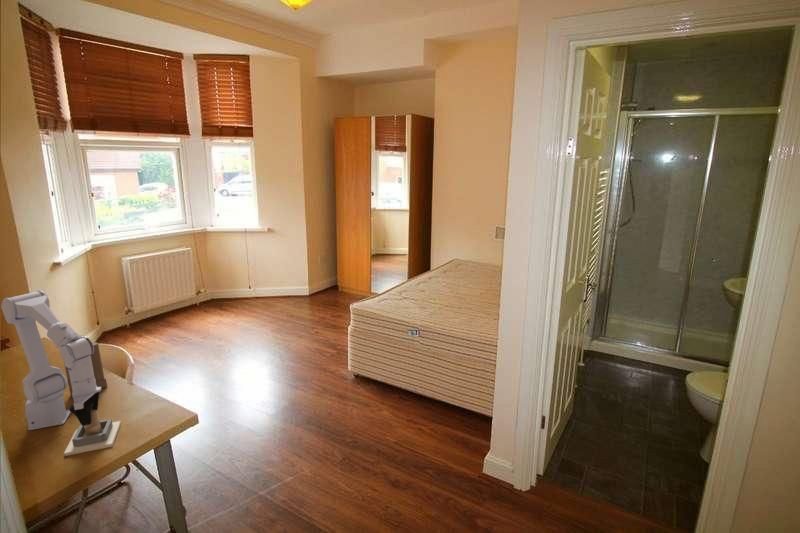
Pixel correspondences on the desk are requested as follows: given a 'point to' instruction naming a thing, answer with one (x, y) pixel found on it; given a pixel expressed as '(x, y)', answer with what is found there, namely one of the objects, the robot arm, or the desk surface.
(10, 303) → the robot arm
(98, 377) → the wooden block
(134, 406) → the desk surface
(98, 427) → the rail end peg
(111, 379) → the desk surface
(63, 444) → the desk surface
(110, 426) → the cup bracket
